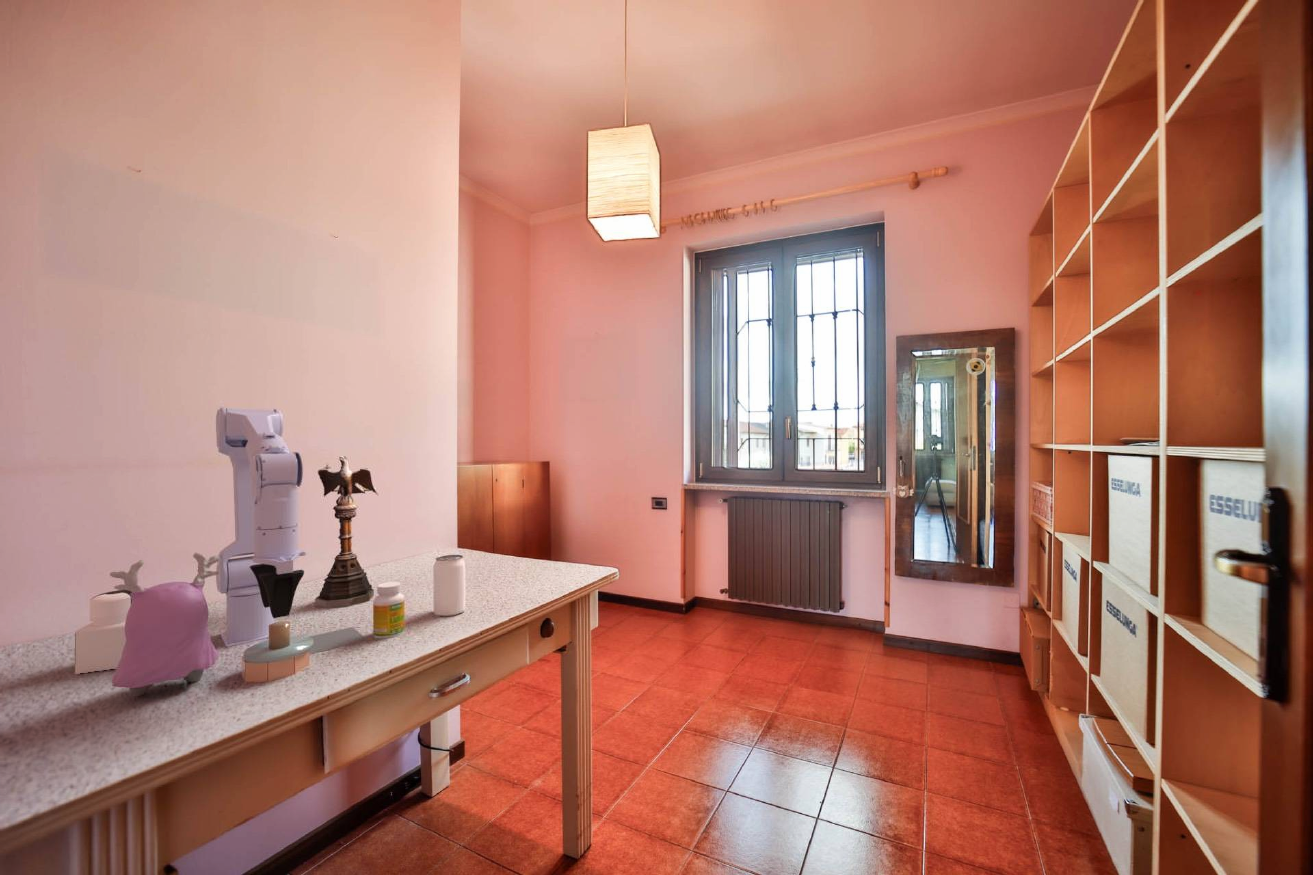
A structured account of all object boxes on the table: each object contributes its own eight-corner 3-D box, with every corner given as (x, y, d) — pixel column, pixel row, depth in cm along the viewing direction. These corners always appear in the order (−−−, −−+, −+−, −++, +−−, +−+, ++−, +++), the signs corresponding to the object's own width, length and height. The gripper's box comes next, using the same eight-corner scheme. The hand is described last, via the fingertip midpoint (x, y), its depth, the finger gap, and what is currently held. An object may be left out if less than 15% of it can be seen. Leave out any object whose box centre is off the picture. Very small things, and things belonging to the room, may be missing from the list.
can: (471, 610, 115) (471, 556, 115) (445, 618, 109) (445, 561, 110) (453, 606, 118) (452, 553, 119) (427, 613, 113) (427, 558, 113)
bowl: (239, 672, 84) (239, 652, 84) (301, 656, 90) (301, 638, 90) (247, 688, 78) (247, 667, 78) (313, 671, 84) (312, 651, 84)
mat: (292, 642, 97) (292, 640, 97) (352, 628, 104) (352, 626, 104) (304, 657, 90) (304, 655, 90) (367, 641, 97) (367, 639, 97)
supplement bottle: (391, 640, 97) (391, 588, 97) (366, 639, 98) (366, 587, 98) (410, 630, 103) (410, 581, 103) (386, 629, 104) (386, 580, 104)
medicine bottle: (99, 659, 90) (100, 589, 90) (153, 652, 93) (153, 584, 93) (73, 675, 84) (74, 600, 84) (132, 667, 86) (132, 595, 87)
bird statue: (323, 591, 132) (323, 453, 132) (380, 586, 136) (380, 452, 136) (300, 610, 116) (300, 454, 117) (366, 604, 120) (366, 453, 121)
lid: (236, 652, 84) (236, 625, 84) (303, 636, 91) (303, 611, 91) (251, 668, 78) (251, 638, 78) (321, 649, 85) (321, 622, 85)
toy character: (217, 666, 87) (217, 545, 87) (221, 686, 79) (222, 554, 80) (112, 689, 78) (113, 557, 79) (106, 715, 71) (107, 568, 71)
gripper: (316, 528, 82) (316, 615, 82) (296, 520, 92) (296, 596, 92) (260, 534, 77) (260, 626, 77) (246, 524, 88) (245, 605, 87)
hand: (276, 611), depth 84 cm, fingers open, 7 cm apart
